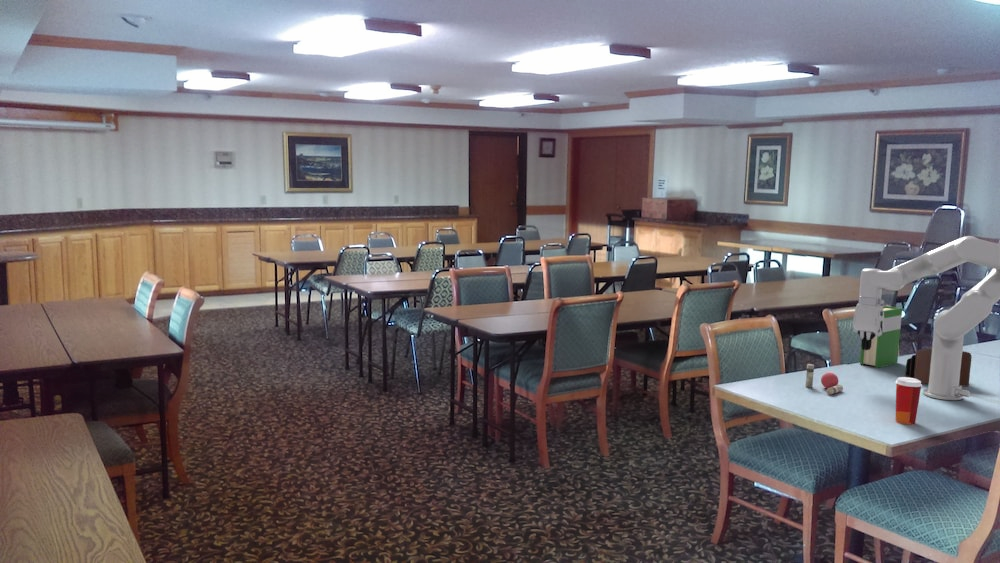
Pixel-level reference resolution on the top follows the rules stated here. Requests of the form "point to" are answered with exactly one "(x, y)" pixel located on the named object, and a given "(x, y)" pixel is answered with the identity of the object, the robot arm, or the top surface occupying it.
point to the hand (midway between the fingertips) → (865, 349)
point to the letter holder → (921, 367)
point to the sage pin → (809, 375)
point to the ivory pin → (834, 389)
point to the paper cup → (907, 399)
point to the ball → (829, 380)
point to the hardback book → (885, 341)
